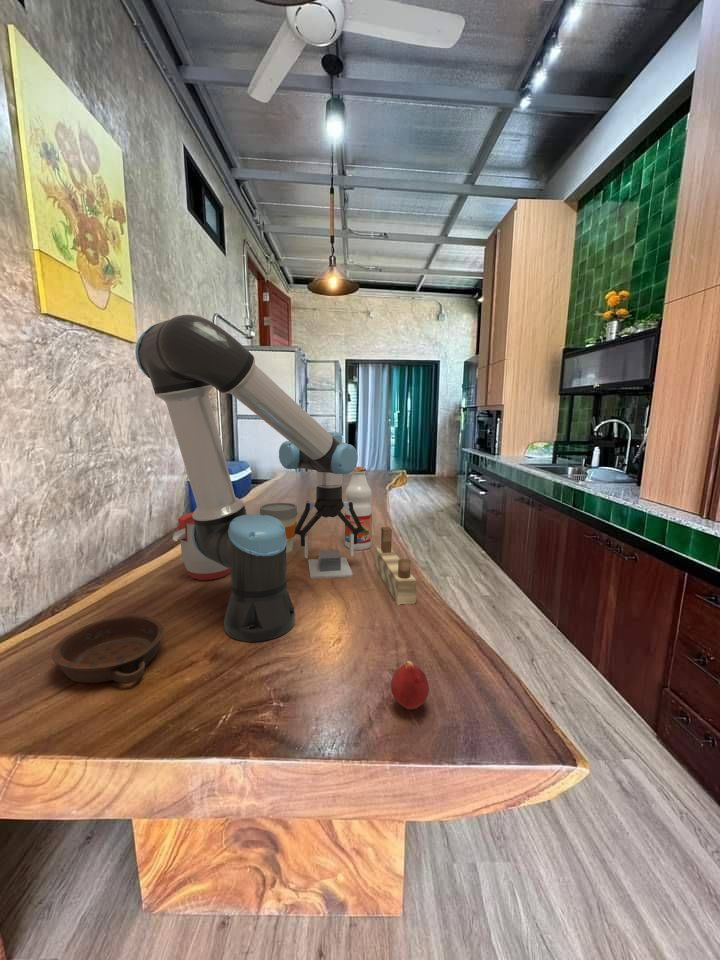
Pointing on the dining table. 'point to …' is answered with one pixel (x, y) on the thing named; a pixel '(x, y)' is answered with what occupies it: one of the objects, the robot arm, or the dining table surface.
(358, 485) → the fruit juice
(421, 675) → the onion
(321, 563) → the lever cap
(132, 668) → the dish
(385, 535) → the wooden peg base
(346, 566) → the mat
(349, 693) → the dining table surface
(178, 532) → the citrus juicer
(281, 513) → the reusable coffee cup
